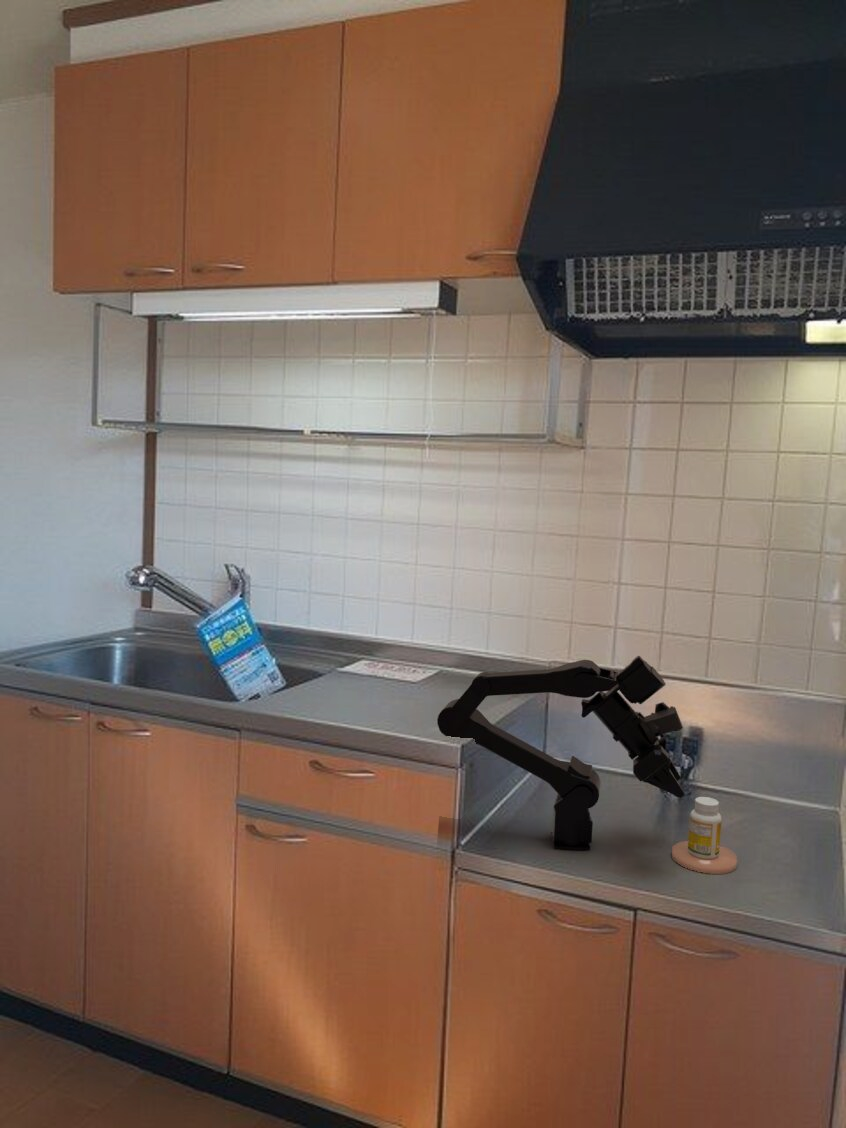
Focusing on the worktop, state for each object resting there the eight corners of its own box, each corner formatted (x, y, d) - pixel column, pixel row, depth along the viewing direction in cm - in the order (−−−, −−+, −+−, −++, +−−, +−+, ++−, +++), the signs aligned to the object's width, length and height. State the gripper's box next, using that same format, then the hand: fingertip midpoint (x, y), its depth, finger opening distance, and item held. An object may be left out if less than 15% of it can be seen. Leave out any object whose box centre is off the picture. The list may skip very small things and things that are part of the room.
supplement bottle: (699, 861, 152) (702, 807, 151) (681, 848, 157) (684, 796, 156) (725, 858, 154) (729, 805, 153) (707, 845, 159) (710, 794, 158)
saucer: (679, 872, 150) (680, 865, 150) (665, 845, 161) (666, 839, 161) (745, 875, 150) (745, 869, 150) (726, 848, 161) (727, 842, 160)
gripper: (659, 703, 146) (723, 776, 145) (654, 681, 164) (711, 745, 163) (607, 744, 148) (670, 816, 147) (608, 718, 166) (664, 781, 165)
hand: (680, 787), depth 155 cm, fingers open, 9 cm apart
